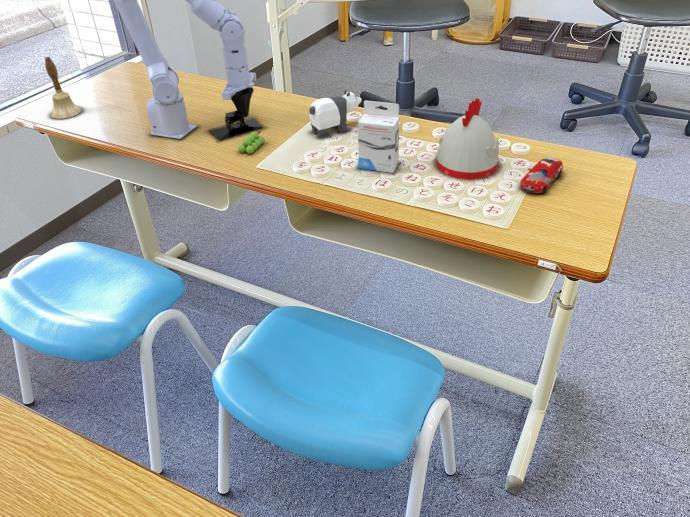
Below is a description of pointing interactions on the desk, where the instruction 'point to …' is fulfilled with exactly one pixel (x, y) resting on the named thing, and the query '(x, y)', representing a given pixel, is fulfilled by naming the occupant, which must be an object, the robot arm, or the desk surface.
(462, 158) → the white and red dome
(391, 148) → the ink box
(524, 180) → the race car
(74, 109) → the hand bell
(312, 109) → the giant panda
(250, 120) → the build plate
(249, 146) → the grapes
